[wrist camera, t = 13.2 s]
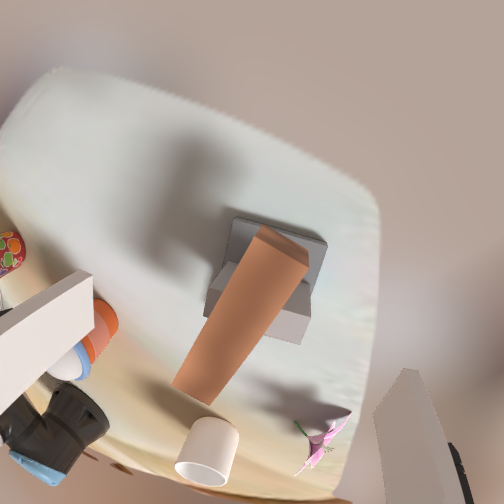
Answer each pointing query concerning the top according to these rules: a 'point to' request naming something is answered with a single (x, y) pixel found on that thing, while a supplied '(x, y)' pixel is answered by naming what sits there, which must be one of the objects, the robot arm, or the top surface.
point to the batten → (242, 313)
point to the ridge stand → (299, 303)
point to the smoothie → (10, 252)
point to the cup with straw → (87, 345)
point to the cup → (208, 452)
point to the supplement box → (1, 302)
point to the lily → (319, 444)
